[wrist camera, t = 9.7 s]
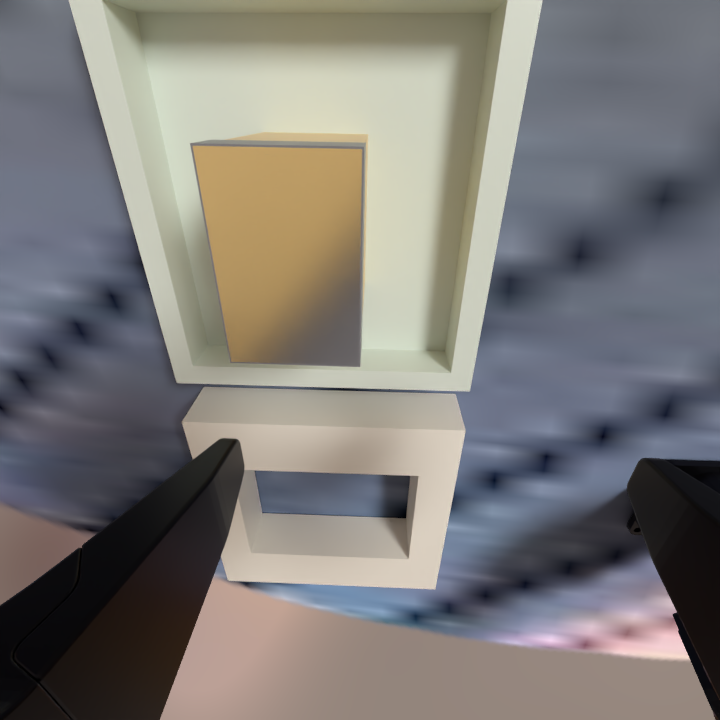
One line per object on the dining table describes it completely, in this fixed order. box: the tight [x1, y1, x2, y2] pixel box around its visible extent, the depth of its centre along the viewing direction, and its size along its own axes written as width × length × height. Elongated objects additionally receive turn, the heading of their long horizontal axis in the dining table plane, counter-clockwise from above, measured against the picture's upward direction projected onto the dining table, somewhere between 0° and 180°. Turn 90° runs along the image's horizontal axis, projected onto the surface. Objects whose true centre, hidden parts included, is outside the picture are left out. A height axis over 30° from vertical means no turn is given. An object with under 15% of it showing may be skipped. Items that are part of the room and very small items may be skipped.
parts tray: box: [69, 0, 542, 391], centre depth 16 cm, size 14×15×2 cm
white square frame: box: [182, 387, 465, 589], centre depth 25 cm, size 14×14×3 cm
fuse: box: [190, 132, 368, 367], centre depth 14 cm, size 4×6×7 cm
